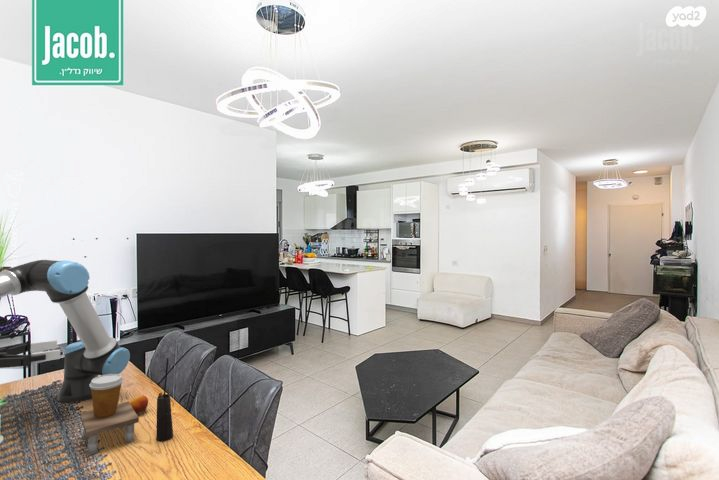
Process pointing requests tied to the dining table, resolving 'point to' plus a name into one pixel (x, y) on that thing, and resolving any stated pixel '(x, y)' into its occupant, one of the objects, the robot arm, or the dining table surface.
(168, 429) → the butter churn
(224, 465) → the dining table surface
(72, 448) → the dining table surface
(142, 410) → the fruit
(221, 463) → the dining table surface
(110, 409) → the disposable coffee cup
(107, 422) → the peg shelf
